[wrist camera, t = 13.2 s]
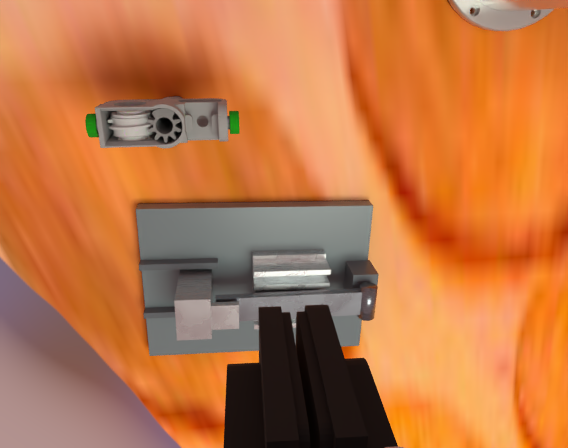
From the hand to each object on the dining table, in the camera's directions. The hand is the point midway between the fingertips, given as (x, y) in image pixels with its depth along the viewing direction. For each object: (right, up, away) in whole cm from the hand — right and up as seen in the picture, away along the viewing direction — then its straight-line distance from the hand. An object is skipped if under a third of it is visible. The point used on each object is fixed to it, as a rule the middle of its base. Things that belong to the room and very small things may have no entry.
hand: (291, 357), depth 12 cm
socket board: (-3, -2, +37) cm, 38 cm away
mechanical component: (-10, +14, +30) cm, 35 cm away
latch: (-7, -3, +35) cm, 36 cm away
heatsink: (0, -3, +36) cm, 36 cm away
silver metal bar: (+1, -4, +33) cm, 33 cm away
